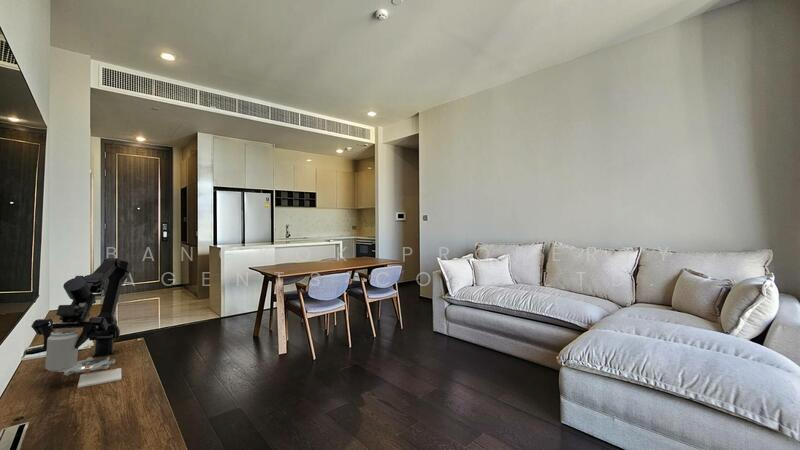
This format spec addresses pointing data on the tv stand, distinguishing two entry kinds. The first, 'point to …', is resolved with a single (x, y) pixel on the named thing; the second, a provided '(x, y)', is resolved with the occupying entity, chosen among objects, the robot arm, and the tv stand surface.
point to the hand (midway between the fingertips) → (60, 348)
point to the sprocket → (89, 365)
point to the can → (62, 350)
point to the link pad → (99, 377)
